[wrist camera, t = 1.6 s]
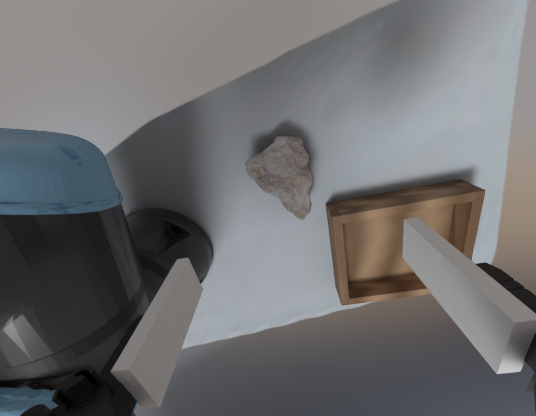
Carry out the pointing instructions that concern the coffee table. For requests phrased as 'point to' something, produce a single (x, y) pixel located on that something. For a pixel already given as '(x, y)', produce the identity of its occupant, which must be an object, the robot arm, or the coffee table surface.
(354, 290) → the tray
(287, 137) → the stone
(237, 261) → the coffee table surface
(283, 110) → the coffee table surface
